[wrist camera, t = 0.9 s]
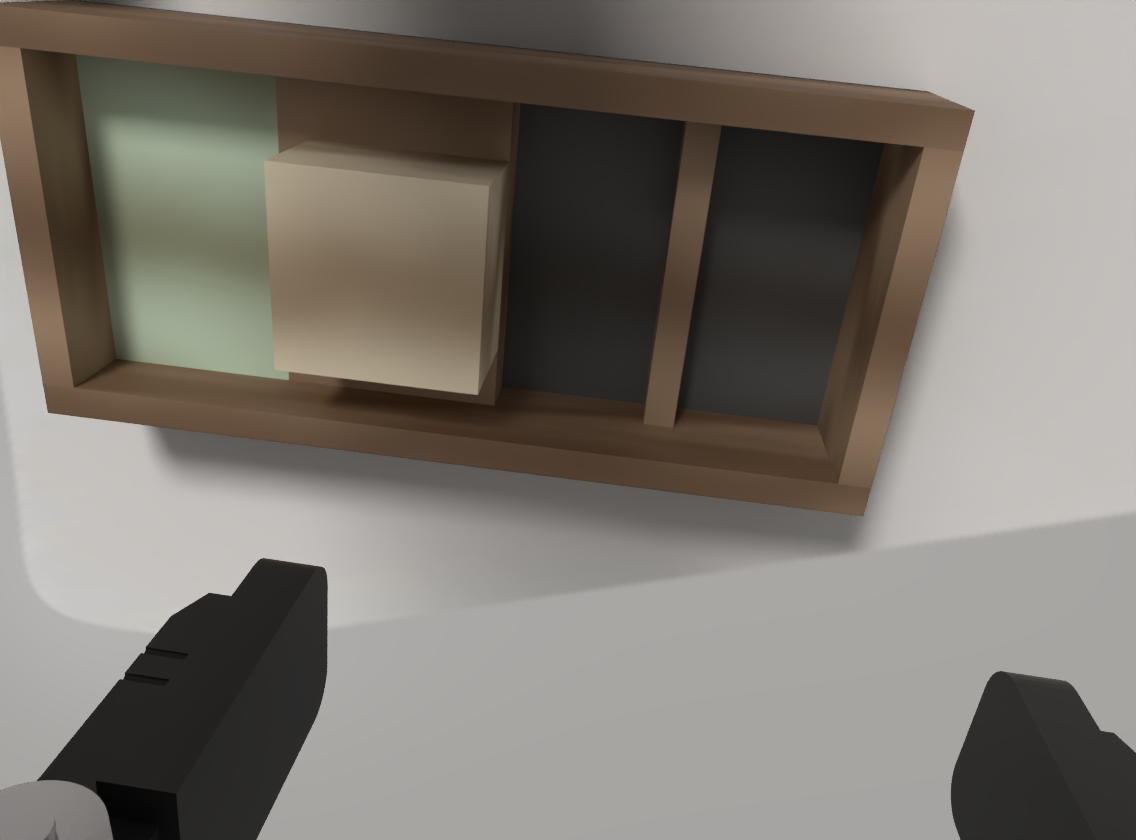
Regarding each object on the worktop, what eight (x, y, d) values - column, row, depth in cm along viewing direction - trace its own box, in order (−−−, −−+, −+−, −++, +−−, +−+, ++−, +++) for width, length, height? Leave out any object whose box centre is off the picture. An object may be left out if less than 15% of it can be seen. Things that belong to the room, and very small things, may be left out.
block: (310, 139, 27) (263, 160, 24) (509, 161, 27) (489, 186, 24) (316, 327, 30) (274, 369, 27) (497, 350, 30) (477, 395, 26)
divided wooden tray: (74, 0, 28) (-24, 3, 24) (927, 91, 27) (974, 111, 23) (122, 360, 33) (47, 412, 29) (838, 449, 32) (863, 515, 28)
